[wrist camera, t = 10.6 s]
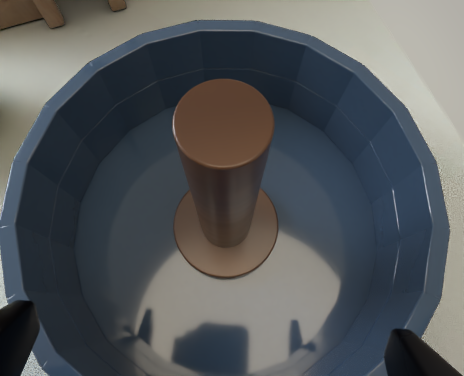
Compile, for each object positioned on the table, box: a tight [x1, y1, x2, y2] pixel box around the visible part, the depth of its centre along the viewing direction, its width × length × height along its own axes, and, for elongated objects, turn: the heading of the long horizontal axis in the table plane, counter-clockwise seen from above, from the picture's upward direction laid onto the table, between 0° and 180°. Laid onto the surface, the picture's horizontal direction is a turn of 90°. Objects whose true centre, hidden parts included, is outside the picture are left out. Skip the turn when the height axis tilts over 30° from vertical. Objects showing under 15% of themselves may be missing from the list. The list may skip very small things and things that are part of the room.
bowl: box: [0, 20, 450, 376], centre depth 15 cm, size 15×15×6 cm
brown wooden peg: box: [172, 79, 278, 279], centre depth 12 cm, size 5×5×10 cm
